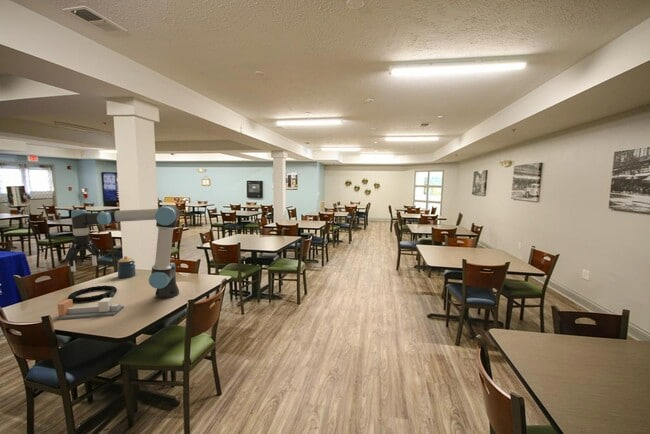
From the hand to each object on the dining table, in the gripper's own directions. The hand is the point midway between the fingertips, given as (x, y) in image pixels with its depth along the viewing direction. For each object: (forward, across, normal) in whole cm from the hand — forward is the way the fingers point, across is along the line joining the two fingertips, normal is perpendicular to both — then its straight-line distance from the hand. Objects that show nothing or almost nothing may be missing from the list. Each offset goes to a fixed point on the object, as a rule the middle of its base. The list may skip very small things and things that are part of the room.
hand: (84, 268), depth 184 cm
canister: (+26, -63, -33) cm, 76 cm away
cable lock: (+26, -19, -17) cm, 37 cm away
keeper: (+25, +3, +17) cm, 30 cm away
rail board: (+26, +6, +9) cm, 28 cm away
